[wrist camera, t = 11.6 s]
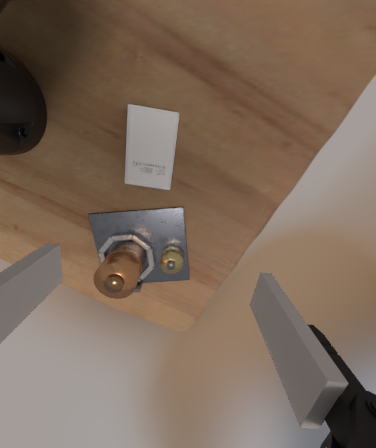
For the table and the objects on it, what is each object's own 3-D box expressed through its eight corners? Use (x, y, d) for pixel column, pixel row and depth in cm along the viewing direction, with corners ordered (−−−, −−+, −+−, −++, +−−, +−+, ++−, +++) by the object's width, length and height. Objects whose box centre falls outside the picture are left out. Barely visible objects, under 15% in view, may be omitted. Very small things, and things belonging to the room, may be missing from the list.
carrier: (107, 283, 43) (98, 297, 39) (89, 213, 37) (77, 221, 33) (189, 278, 42) (189, 291, 38) (183, 206, 37) (182, 213, 33)
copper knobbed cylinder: (108, 267, 41) (88, 297, 32) (113, 237, 38) (93, 262, 30) (141, 274, 41) (130, 306, 33) (148, 246, 39) (138, 272, 31)
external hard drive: (179, 114, 32) (170, 189, 36) (130, 105, 32) (126, 182, 36) (179, 112, 31) (169, 190, 35) (127, 103, 30) (123, 183, 34)
